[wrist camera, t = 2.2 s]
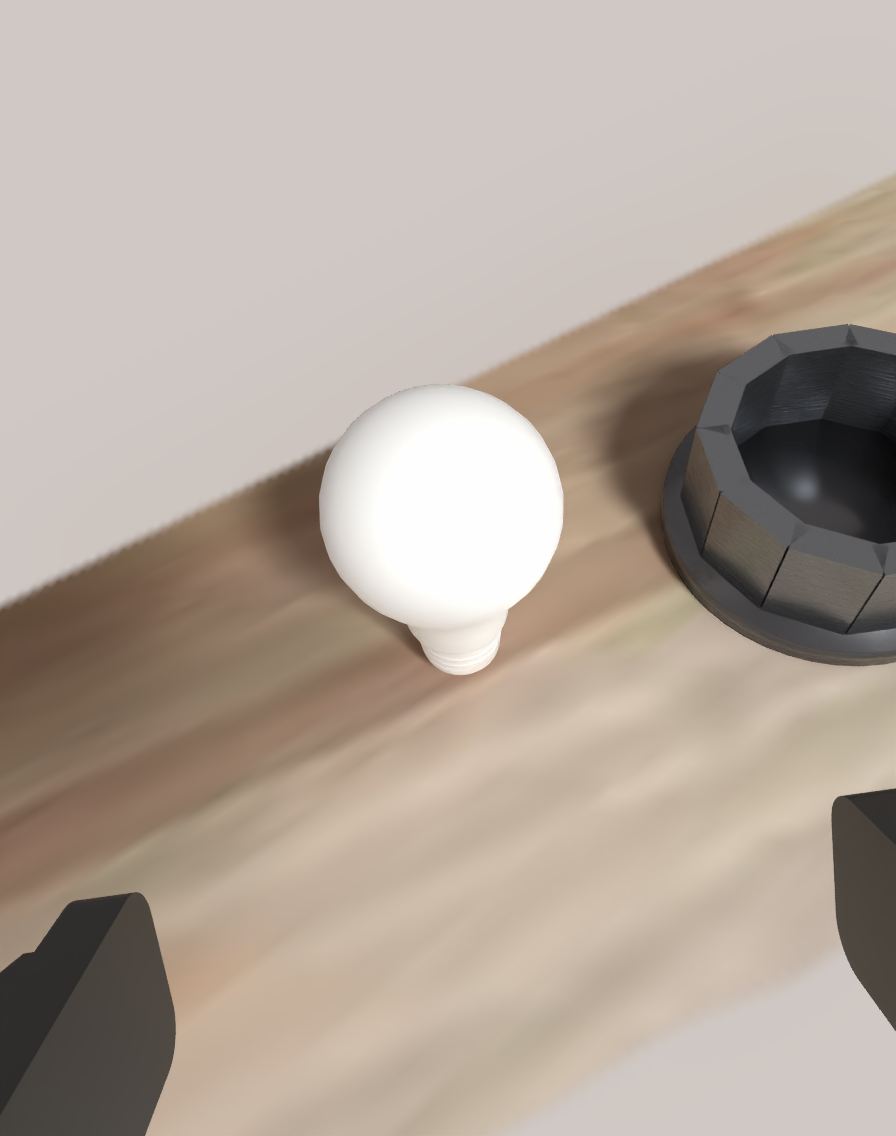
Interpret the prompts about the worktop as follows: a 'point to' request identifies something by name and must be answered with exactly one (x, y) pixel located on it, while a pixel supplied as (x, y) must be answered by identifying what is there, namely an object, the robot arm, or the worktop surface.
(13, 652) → the worktop surface
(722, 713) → the worktop surface
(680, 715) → the worktop surface
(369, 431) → the lightbulb
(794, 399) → the socket holder
